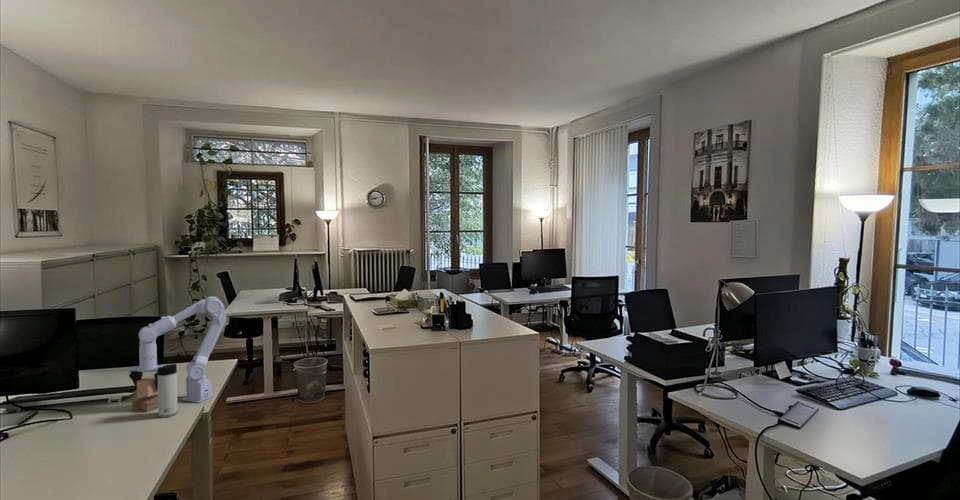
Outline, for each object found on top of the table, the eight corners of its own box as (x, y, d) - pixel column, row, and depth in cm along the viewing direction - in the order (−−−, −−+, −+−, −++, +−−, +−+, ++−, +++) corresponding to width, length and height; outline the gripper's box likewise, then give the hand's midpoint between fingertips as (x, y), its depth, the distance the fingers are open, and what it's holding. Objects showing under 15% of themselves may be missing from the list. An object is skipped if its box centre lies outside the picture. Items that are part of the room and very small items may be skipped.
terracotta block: (160, 392, 185) (160, 377, 185) (148, 396, 180) (147, 382, 180) (149, 390, 187) (149, 376, 186) (137, 395, 181) (136, 380, 181)
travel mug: (168, 418, 173) (167, 368, 172) (154, 417, 174) (153, 366, 173) (182, 412, 179) (181, 363, 178) (168, 410, 181) (167, 361, 179)
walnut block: (166, 405, 186) (165, 395, 186) (147, 412, 179) (146, 403, 178) (151, 402, 189) (151, 393, 188) (132, 410, 181) (131, 400, 181)
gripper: (172, 353, 187) (173, 385, 188) (135, 353, 186) (135, 386, 186) (163, 358, 180) (163, 391, 181) (123, 359, 179) (124, 392, 179)
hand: (148, 389), depth 183 cm, fingers closed on terracotta block, 7 cm apart
